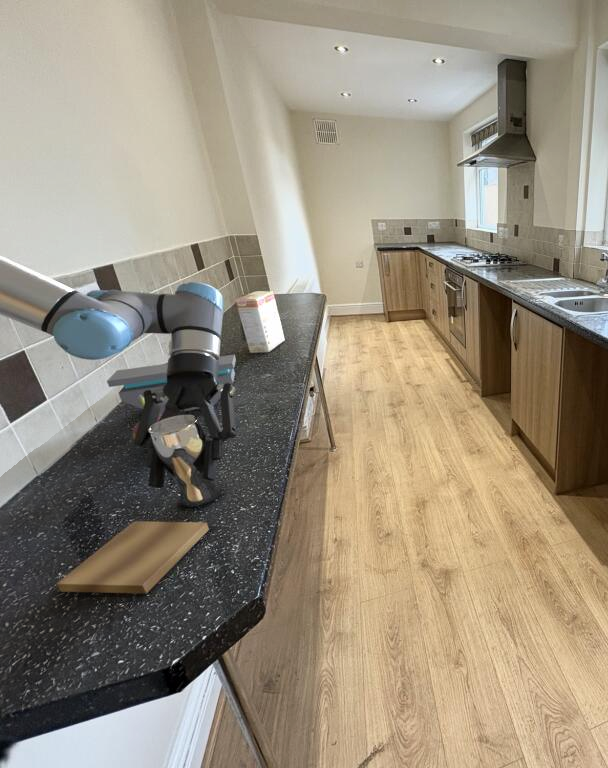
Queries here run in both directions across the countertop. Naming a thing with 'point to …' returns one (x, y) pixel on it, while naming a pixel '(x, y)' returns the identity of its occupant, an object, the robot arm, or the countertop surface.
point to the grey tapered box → (161, 381)
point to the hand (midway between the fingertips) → (183, 482)
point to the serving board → (134, 558)
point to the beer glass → (184, 457)
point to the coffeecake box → (260, 321)
